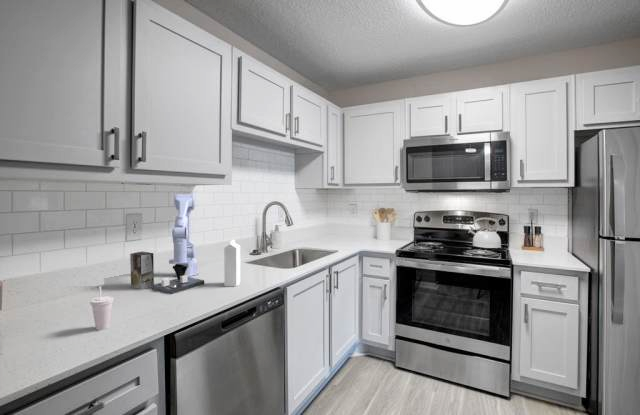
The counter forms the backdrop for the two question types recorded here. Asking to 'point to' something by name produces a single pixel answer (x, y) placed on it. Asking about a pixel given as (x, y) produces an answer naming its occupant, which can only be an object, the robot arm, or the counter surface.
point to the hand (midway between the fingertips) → (180, 280)
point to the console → (178, 285)
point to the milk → (232, 264)
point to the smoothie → (102, 311)
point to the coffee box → (142, 270)
